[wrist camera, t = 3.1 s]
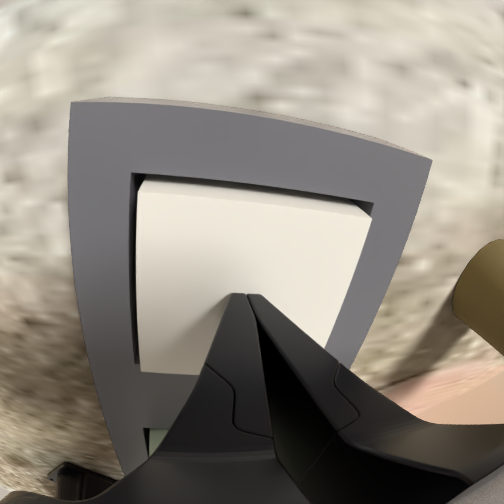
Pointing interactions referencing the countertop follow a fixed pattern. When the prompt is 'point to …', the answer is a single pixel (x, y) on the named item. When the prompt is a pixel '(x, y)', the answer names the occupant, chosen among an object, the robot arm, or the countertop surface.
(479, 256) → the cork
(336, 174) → the key panel
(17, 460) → the countertop surface
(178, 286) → the cream key
